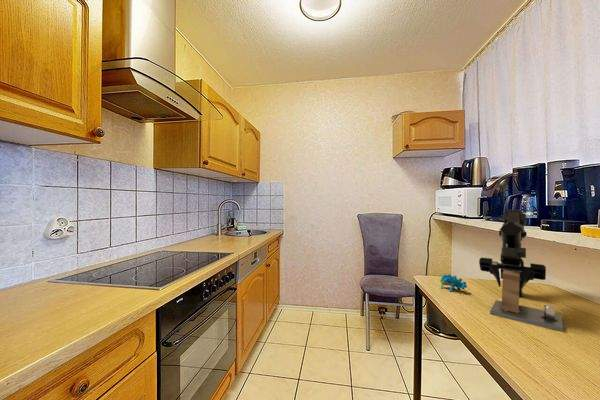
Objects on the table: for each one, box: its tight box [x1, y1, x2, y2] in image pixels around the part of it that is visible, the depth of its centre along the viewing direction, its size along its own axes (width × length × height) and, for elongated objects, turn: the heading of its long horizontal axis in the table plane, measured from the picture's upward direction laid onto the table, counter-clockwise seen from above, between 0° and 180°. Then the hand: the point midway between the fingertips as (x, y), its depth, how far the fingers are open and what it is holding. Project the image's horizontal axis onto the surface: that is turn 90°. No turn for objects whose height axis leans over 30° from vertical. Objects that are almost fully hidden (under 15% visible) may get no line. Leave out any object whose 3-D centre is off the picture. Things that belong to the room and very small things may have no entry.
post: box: [501, 270, 520, 313], centre depth 91 cm, size 4×4×13 cm
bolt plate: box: [489, 299, 564, 333], centre depth 89 cm, size 14×18×5 cm
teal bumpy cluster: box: [439, 273, 468, 292], centre depth 116 cm, size 11×6×10 cm
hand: (509, 288), depth 90 cm, fingers open, 5 cm apart
